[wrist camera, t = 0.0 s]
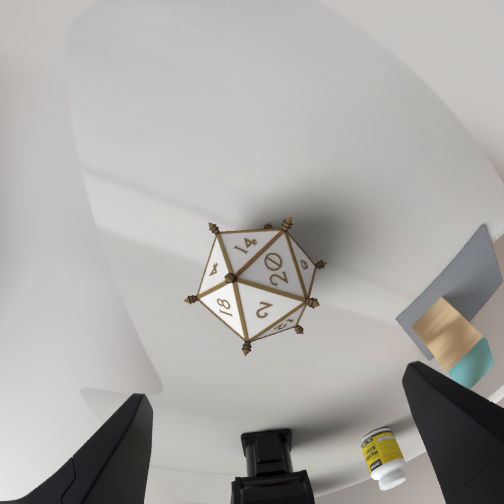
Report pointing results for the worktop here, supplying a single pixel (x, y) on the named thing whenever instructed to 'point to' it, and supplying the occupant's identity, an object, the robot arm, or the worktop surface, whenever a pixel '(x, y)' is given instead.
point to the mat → (459, 285)
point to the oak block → (454, 343)
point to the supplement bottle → (384, 458)
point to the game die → (257, 282)
